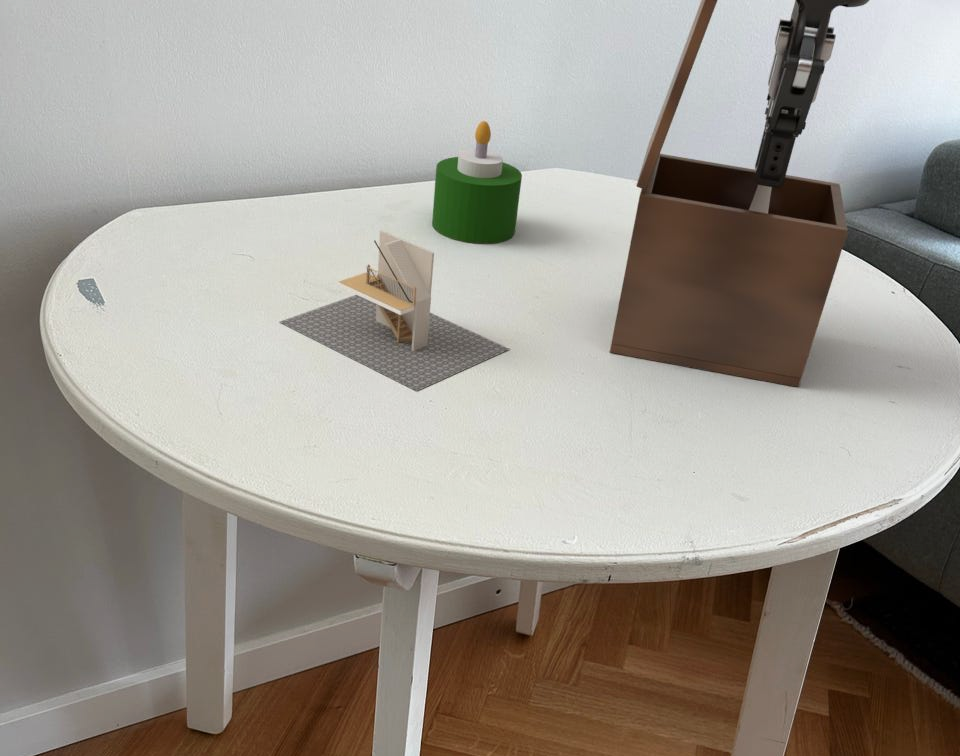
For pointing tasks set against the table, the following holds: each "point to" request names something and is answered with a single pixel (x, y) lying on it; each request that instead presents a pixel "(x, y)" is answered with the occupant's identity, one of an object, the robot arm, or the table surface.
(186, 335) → the table surface
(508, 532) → the table surface
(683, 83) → the lid
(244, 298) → the table surface
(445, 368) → the architectural model
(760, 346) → the toy box
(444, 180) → the candle
